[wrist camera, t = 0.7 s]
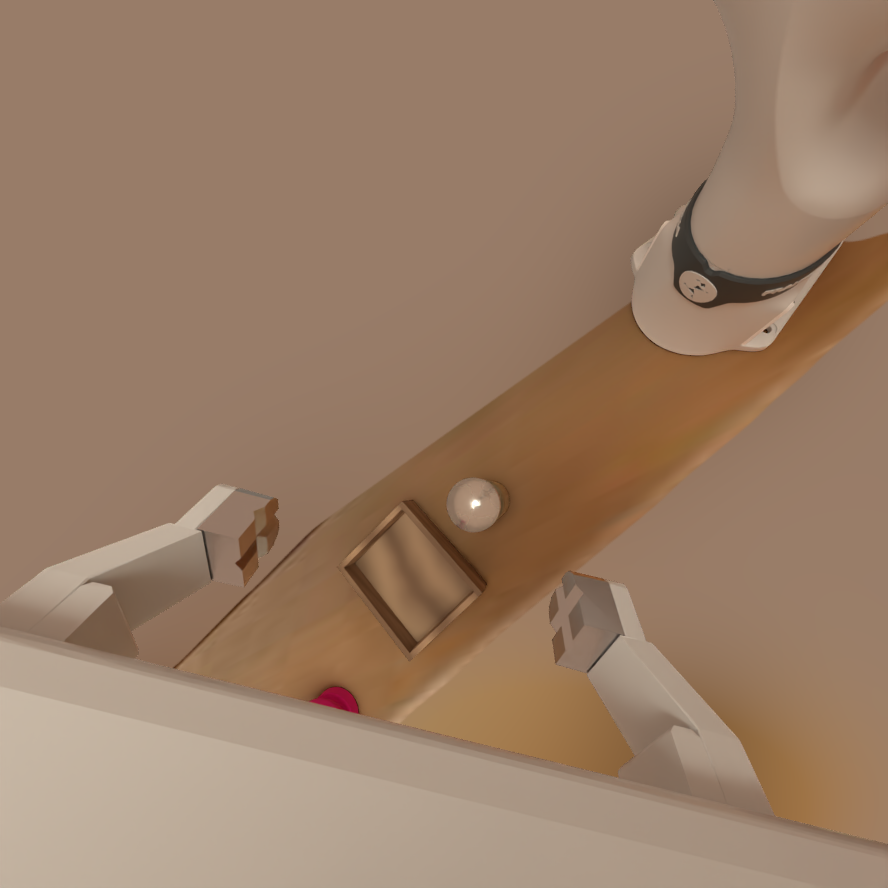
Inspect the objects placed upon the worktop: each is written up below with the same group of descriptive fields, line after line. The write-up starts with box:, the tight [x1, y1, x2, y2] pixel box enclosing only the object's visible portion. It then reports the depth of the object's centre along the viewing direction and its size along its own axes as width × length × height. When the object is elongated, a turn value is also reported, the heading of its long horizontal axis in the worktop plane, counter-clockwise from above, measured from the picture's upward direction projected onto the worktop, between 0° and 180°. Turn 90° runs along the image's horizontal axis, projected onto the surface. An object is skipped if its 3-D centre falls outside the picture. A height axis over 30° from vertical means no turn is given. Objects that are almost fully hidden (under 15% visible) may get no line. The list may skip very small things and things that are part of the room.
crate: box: [337, 500, 487, 662], centre depth 48 cm, size 12×15×4 cm
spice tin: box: [447, 478, 510, 532], centre depth 42 cm, size 5×5×13 cm
